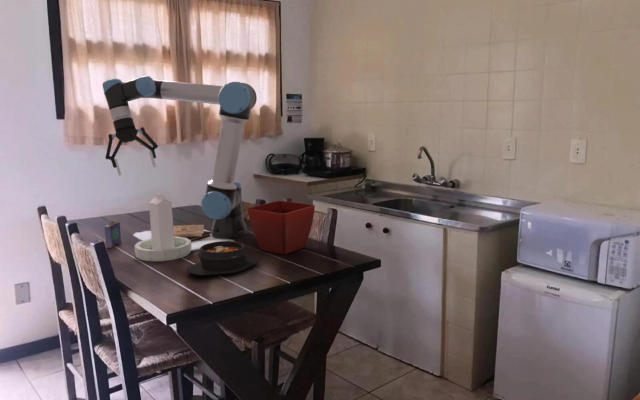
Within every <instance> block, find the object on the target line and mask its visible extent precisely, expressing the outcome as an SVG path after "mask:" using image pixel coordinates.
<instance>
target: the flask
mask: <svg viewBox="0 0 640 400" xmlns="http://www.w3.org/2000/svg"><path fill="white" fill-rule="evenodd" d="M108 221H109V222H108V224H106V225H105V226H104V233H105V244H106V245H105V247H107V249H111V248H114V247H117V245H120V244H122V240H121V239H122V237H121V223H120V221H117V220H115V221H114V219H108Z"/></svg>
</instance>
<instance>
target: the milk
mask: <svg viewBox="0 0 640 400" xmlns="http://www.w3.org/2000/svg"><path fill="white" fill-rule="evenodd" d="M154 195H155V197H154V198H153V199H151V200H150V201H149V202H148V205H149V206H148V207H149V208H148V209H149V223H150V234H151V235H150V236H151V237H150V238H152V250H162V249H170V248H175V247H174V235H175V233H174V218H173V204H172V203H173V202H172V201H170V200H168V199H166V198H165V194H162V193H158V192H155V193H154Z"/></svg>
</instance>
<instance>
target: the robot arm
mask: <svg viewBox="0 0 640 400" xmlns="http://www.w3.org/2000/svg"><path fill="white" fill-rule="evenodd" d="M102 89H103V95H104V97H105V100H106V102H107V103H106V104H107V106H108V109H109V110H108V111H109V113H110V116H111V117H110V118H111V120H112V121H113V122H112V124H113V128H114V130H115V133H113V134H112V133H108V136H107V138H108V143H107V148H106V154H105V160H110V162H111V164H112V167H113V168H114V169H116V170H117V174H118V176H122V173H121V170H120V169H121V168H120V165H119V163H118V159H117V158H115V157H116V155H117V154H118V151H119V149H120V148H121V145H122V143H123V144H126V143H129V142H130V143H131V142H134V141H135V142H137V143H139V144H140V145H141V146H143V147H144V148H146V149H147V150H149V151H148V153H149V158H150V161H151V164H152V167H153V168H155V167H157V165H156V162H155V159H156V158H157V155H156V151H155V150H156V149H157V148H158V147H159V145H158V144H157V142H155V140H153V139H152V137H151V136H150V135H149V134H148V133H147V131H146V130H145V128H144V127H143V126H142V127H139V128H136V126H135V122H134V118H133V117H132V115H133V114H132V112H131V108H130V106H129V105H130V104H129V102H131V101H132V102H133V101H135V100H138V99H158V100H169V101H171V100H172V101H179V102H180V101H181V102H189V103H191V102H192V103H199V104H200V103H202V104H210V105H219V109H218V110H219V112H218V116H219V117H220V118H221V124H220V130H219V136H218V141H217V148H216V154H215V160H214V165H213V171H212V177H211V179H210V180H208V182H207V183H206V189H205V194H204V195H203V197H202V199H201V202H200V206H201V209H202V212H203V213H204V215H206V216H207V218H208V217H209V218H210V219H212V220H213V223H212V227H211V230H210V231H211V236H212V237H213V238H217V239H235V238H241V237H243V236H246V235H247V234H248V228H247V225H246V223H245V220H244V216H243V203H242V200H243V199H242V198H243V197H242V196H243V195H242V184H241V182H239V181H235V177H236V171H237V166H238V160H239V153H240V148H241V143H242V136H243V132H244V131H243V130H244V126H245V123H247V122H248V121H249V118H250V115H251V110H252V109H253V108H254V107H255V106H256V103H257V100H258V99H257V92H256V91H255V89H254V88H253V86H252V85H250V84H248V83H245V82H240V81H231V82H228V83H225V84H224V85H216V84H215V85H212V84H203V83H193V82H192V83H191V82H183V81H182V82H181V81H171V80H159V79H153V78H152V77H151V76H150V75H144V76H139V77H137V78H134V79H130V80H128V81H122V79H120V78H112V79H107V80H105V81H103V82H102ZM138 133H139V134H140V135H142V136H143V137H144V138H145V139H146V140H147V142H148V143H147V142H146V141H144V140H143V139H141V138H140V137H139V136H138ZM115 138H117V140H118V143H117V145H116V146H115V149H114V151H113V152H112V154H111V150H112V145H113V140H115ZM149 143H150V144H149ZM110 154H111V155H110Z"/></svg>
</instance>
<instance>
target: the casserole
mask: <svg viewBox="0 0 640 400" xmlns="http://www.w3.org/2000/svg"><path fill="white" fill-rule="evenodd" d="M248 252H249V250H248V249H247V247H246V245H245V243H243V242H240V241H234V240H232V241H231V240H220V241H214V242H209V243H205V244H203V245H200V248H199V251H198V253H197V257H198V258H199V262H197V263H194V264H191V265H188V266H187V267H186V271H187V272H188V273H190V274H193V275H195V276H200V277H201V276H202V277H203V276H211V275H212V276H213V275H214V276H215V275H216V276H217V275H218V276H224V275H232V274H235V273H239V272H241V271H245V270H246V269H247V268H249V267H253V266H254V265H255V266H256V265H257V264H258V263H259V262H260V261H259V259H258V258H257V257H254V256H251V255H248Z"/></svg>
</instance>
